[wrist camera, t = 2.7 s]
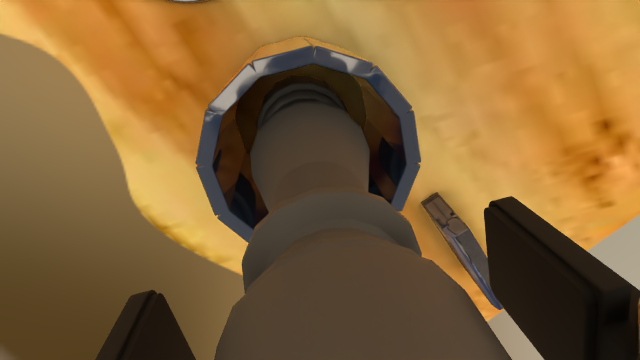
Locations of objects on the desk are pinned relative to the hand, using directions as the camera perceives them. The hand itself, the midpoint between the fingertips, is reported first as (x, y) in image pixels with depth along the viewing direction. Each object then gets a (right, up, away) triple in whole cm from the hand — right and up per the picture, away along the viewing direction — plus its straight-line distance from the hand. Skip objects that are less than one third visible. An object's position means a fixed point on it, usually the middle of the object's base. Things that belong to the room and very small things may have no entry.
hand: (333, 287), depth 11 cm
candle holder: (-2, +8, +18) cm, 19 cm away
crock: (-2, +8, +18) cm, 19 cm away
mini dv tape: (+11, -1, +23) cm, 25 cm away
